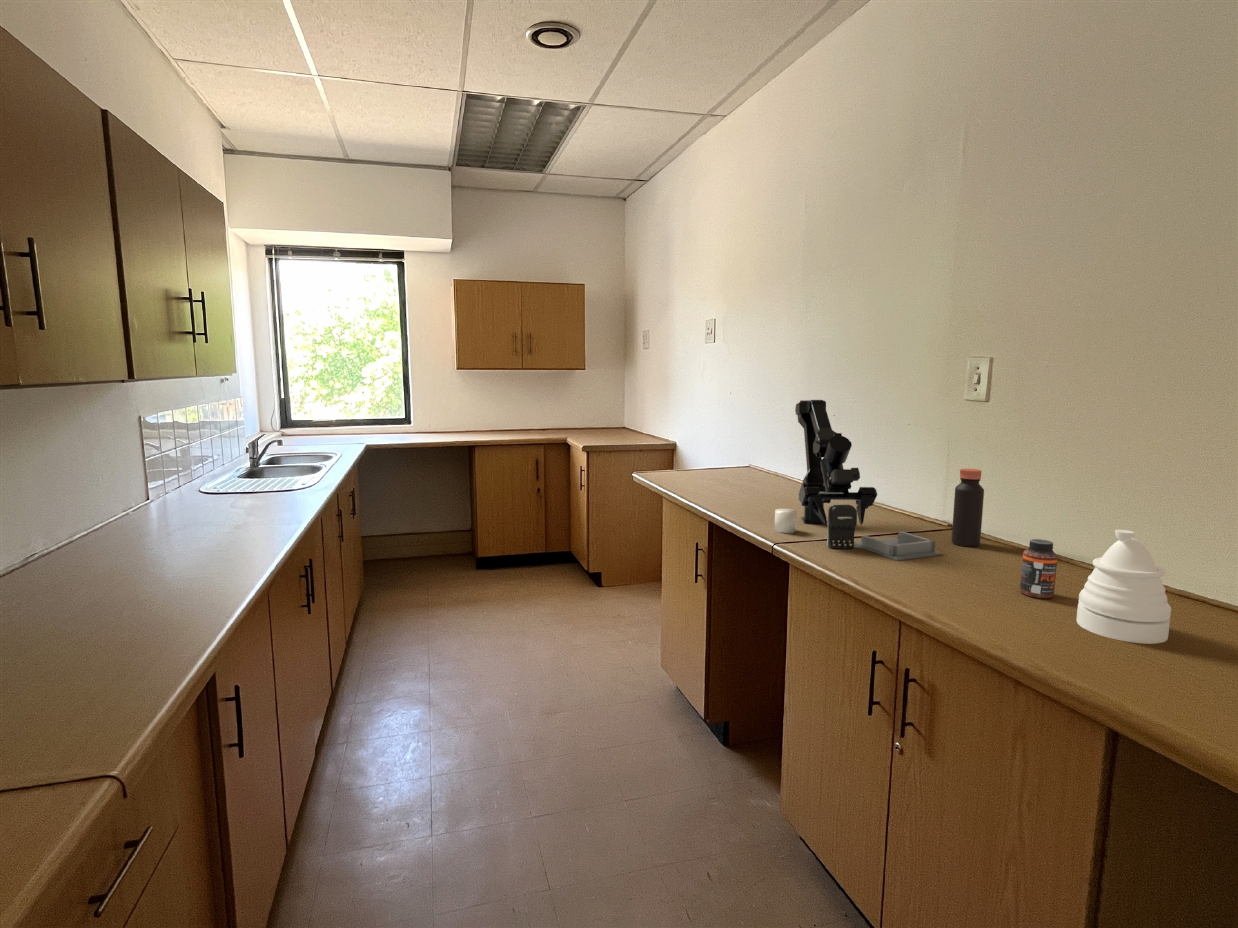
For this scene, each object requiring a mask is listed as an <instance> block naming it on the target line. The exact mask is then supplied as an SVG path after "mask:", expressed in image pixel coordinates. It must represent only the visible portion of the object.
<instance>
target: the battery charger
mask: <svg viewBox="0 0 1238 928" xmlns="http://www.w3.org/2000/svg"><path fill="white" fill-rule="evenodd" d="M857 522H858V513H857V509H856V507H854V505H852V504H845V503H844V504H843V503H841V504H840V503H839V504H837V503H836V504H831V505H830V506H829V507H828V509H827V523H826V526H827V540H826V546H827V547H829V548H831V549H840V550H841V549H844V550H845V549H846V550H847V549H853V548H854V547H855V545H854V542H855V531H856V527H857V526H858V525H857Z"/></svg>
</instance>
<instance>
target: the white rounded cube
mask: <svg viewBox="0 0 1238 928" xmlns="http://www.w3.org/2000/svg"><path fill="white" fill-rule="evenodd" d="M796 531H797V510H796V509H793V508H776V509H774V532H775V533H779V532H783V533H782V534H795V533H796ZM794 532H795V533H794Z"/></svg>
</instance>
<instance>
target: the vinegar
mask: <svg viewBox="0 0 1238 928" xmlns="http://www.w3.org/2000/svg"><path fill="white" fill-rule="evenodd" d="M959 479H960V482H959V484H958V485H956V486H955V488H954V498H953V499H954V500H953V515H952V530H951V543H952V544H954V545H956V546H961V547H965V548H966V547H967V548H968V547H969V548H971V547H972V548H976V547H979V546H980V545H981V538H982V537H981V535H982V524H983V513H984V512H983V511H984V500H985V499H984V496H985V489H984V487H982V486H981V484H980V482H981V479H982V470H981V469H976V468H960V470H959Z"/></svg>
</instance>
